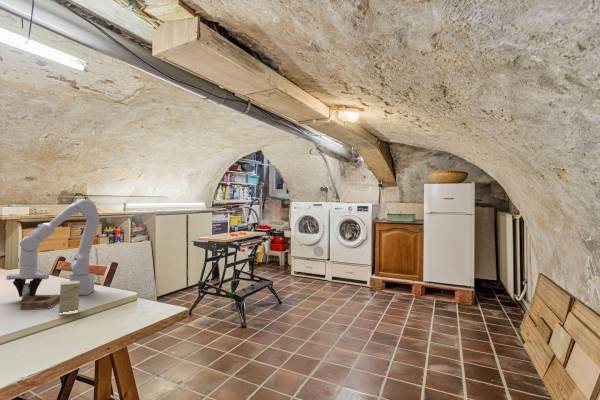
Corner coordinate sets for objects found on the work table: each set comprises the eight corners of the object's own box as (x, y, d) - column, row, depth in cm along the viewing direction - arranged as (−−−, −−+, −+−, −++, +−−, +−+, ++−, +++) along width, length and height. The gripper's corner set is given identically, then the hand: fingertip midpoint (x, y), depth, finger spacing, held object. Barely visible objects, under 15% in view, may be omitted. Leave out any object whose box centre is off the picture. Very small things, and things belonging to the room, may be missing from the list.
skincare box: (58, 316, 123) (60, 284, 123) (58, 312, 126) (60, 282, 126) (78, 313, 127) (80, 282, 127) (78, 309, 130) (79, 280, 130)
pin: (34, 298, 139) (34, 282, 139) (29, 301, 136) (30, 285, 136) (24, 299, 138) (24, 282, 138) (19, 301, 135) (20, 285, 135)
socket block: (61, 300, 140) (61, 294, 140) (49, 308, 130) (50, 302, 130) (34, 300, 137) (34, 295, 137) (20, 309, 127) (20, 303, 127)
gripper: (52, 262, 143) (51, 292, 143) (14, 262, 139) (12, 293, 139) (44, 266, 136) (43, 297, 136) (3, 266, 132) (2, 298, 132)
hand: (27, 296), depth 137 cm, fingers closed on pin, 4 cm apart
